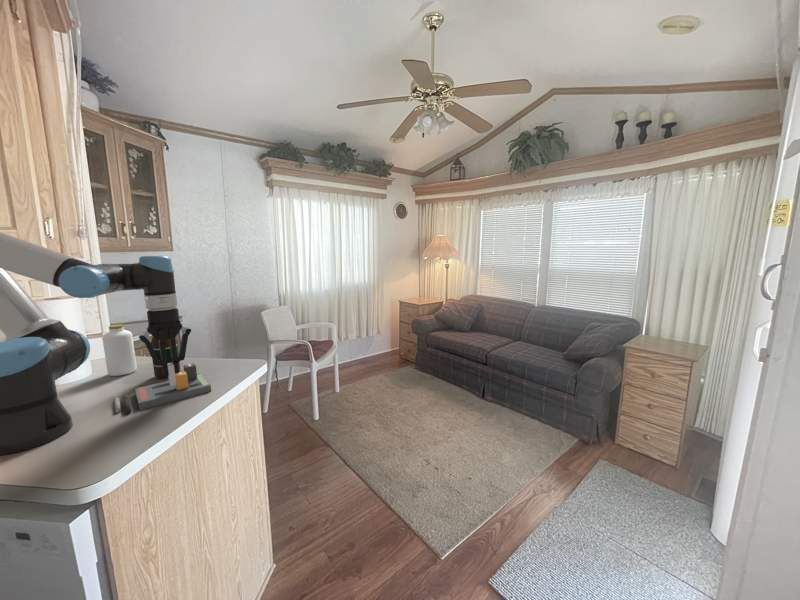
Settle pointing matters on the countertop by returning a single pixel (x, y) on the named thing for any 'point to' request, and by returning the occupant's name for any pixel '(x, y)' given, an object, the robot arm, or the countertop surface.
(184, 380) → the block
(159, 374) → the beer bottle
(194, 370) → the block
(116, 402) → the cord grey near
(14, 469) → the countertop surface
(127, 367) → the white plastic bottle
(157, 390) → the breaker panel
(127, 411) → the cord black near
